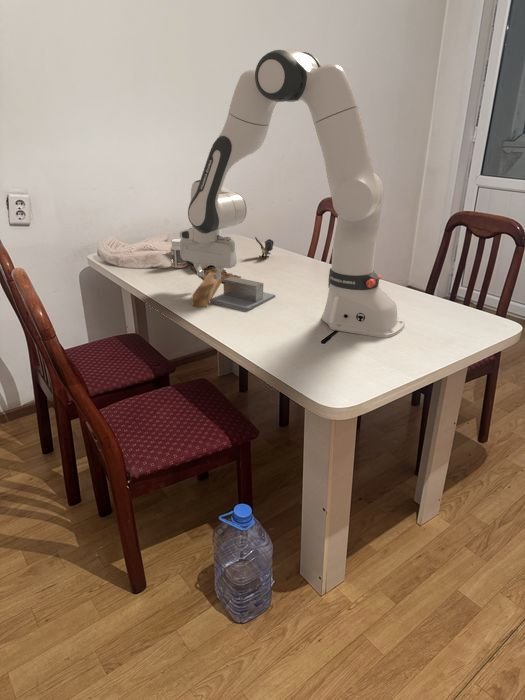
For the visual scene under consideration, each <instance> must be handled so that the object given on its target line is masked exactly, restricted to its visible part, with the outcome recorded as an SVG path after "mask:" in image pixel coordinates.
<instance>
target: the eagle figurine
mask: <svg viewBox="0 0 525 700" xmlns="http://www.w3.org/2000/svg"><path fill="white" fill-rule="evenodd" d="M254 239H255V240H256V242H257V243H258V244H259V246H260V249H261V255H258V257H255V259H265V260H268V257H267V256H268V255H271V254H272V253H271V251H273V249H274V248H273V246H274V244H275V242H274V241H273V240H272V239H267V240H265V241H264V245H263V243H262V242H261V241H260V240H259V239H258V238H257V237H254Z"/></svg>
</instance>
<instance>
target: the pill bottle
mask: <svg viewBox="0 0 525 700" xmlns="http://www.w3.org/2000/svg"><path fill="white" fill-rule="evenodd" d="M181 239H182V238H174V239H171V247H170V256H171V255H172V259H173V263H172V262H171V267H172V268H175V269H181V268H182V269H183V268H186V267H187V266H188V261H186V260H183V259H182V258H181V256H180V240H181Z"/></svg>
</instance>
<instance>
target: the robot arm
mask: <svg viewBox="0 0 525 700" xmlns="http://www.w3.org/2000/svg"><path fill="white" fill-rule="evenodd" d="M299 101H303V102H304V103H305V104H306V106H307V107H308V110H309V112H310V115H311V118H312V122H313V124H314V129H315V132H316V135H317V139H318V142H319V145H320V149H321V152H322V156H323V159H324V160H323V161H324V164H325V171H326V177H327V182H328V186H329V191H330V196H331V201H332V206H333V209H334V212H335V214H337V219H336V226H335V231H334V235H333V242H332V253H331V267H330V268H329V273H328V284H327V285H328V294H327V298H326V303H325V307H324V310H323V313H322V315H321V320H322V321H323V322H324V323H325V324H327V325H328V327H329V329H330V330H332V331H338V332H344V333H345V332H346V333H351V334H358V335H364V336H370V337H377V338H384V339H386V338H391V337H394V336H396V335H398V334H399V333H400V332H401V331H403V330H404V328H405V326H406V325H405V324H406V323H405V320H404V319H403V318H400V317H398V307H397V303H396V301H395V300H393V298H392V297H390V296H389V295H388V294H387V293H386V292H385V290H383V289H382V288H381V287H380V285H379V284H380V280H381V279H382V274H377V273H376V272H375V271H374V265H375V256H376V248H377V247H376V246H377V239H378V233H379V226H380V222H381V221H380V219H381V213H382V207H383V200H384V199H383V197H384V185H383V182H382V179H381V178H380V177H379V175H378V174H376V173H375V172H374V169H373V164H372V159H371V154H370V148H369V140H368V136H367V134H366V130H365V125H364V122H363V119H362V118H363V117H362V114H361V111H360V108H359V104H358V100H357V97H356V95H355V92H354V90H353V86H352V84H351V82H350V79H349V78H348V75H347V74H346V72H345V70H344V69H343V67H341V66H340V65H338V64H333V63H332V64H330V63H329V64H324V65H322V64H321V63H320V61H319V60H318V59H317V58H316V57H315V56H314V55H312V54H311V53H309V52H306V51H299V50H296V49H275V50H274V49H273V50H272V51H270V52H267V53H266V54H264V55H263V56H262V57H261V58H260V60H259V61H258V62H257V65H256V67H255V69H248V70H245V71H244V72H243V73H242V74H241V75H240V76H239V78H238V81H237V83H236V85H235V88H234V92H233V94H232V98H231V101H230V105H229V109H228V112H227V113H228V114H227V117H226V120H225V123H224V126H223V128H222V130H221V132H220V134H219V135H218V137H217V138H216V140H215V141H214V142H213V144H212V145H211V148H210V150H209V152H208V156H207V159H206V162H205V164H204V168H203V170H202V174H201V177H200V179H199V180H195V181H194V182H193V183H192V184H191V187H190V188H191V189H190V202H189V204H188V209H187V218H188V220H189V223H190V225H191V227H190V228H187V229H184V230H181V231H179V237H180V238H179V239H181V240H180V256H181V258H182V259H183V260H186V261H187V262H189V261H191V262H193V263H194V264H193V263H192V264H193V267H195V269H196V271H197V272H196V276H198V277H201V276H204V270H202V269H201V266H200V264H201V263H202V264H207V265H210V266H213V267H216V269H217V272H216V274H214V279H216V280H219V279H221V272H222V271H223V269H224V268H225V269H231V268H234V267H236V265H237V264H238V261H237V260H238V259H237V252H236V251H237V250H236V244H235V241H234V240H233V239H232V238H231V237H229V236H224V235H222V229H226V228H229V227H230V228H231V227H234V226H237V225H240V224H242V223H243V222H244V221H245V218H246V216H247V204H246V201H245V199H244V197H242V196H241V194H239V193H237V192H233V191H231V190H229V189H227V188H226V187H225V186H223V185H224V183H225V180H226V177H227V175H228V172H229V171H230V170H231V168H232V167H233V166H235V164H237V163H238V162H239V161H241V160H242V159H244V158H246V157H248V156H249V155H252V154H254V153H255V152H257V151H258V150H260V149H261V147H262V145H263V143H264V142H265V140H266V138H267V136H268V131H269V127H270V124H271V120H272V115H273V112H274V109H275V107H276V106H277V104H278V103H283V102H287V103H294V102H299ZM191 262H190V263H191ZM225 269H224V270H225Z"/></svg>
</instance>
